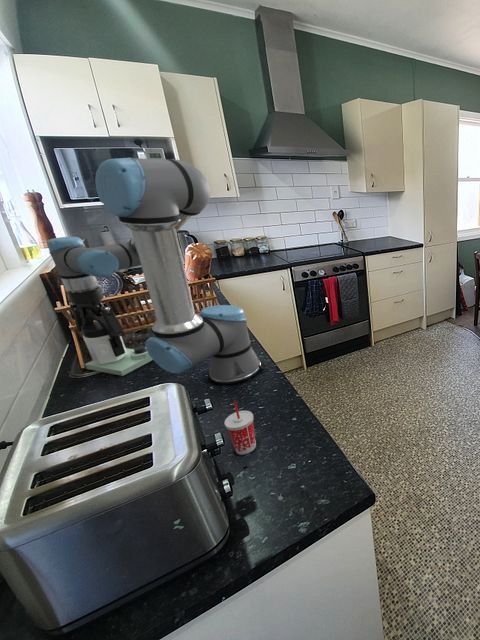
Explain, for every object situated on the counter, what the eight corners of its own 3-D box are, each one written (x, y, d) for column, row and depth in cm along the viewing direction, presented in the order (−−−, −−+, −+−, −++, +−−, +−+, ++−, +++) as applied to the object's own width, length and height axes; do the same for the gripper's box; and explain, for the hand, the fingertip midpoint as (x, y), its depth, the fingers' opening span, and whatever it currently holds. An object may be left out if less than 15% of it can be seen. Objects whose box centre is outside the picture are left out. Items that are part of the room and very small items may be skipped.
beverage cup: (250, 435, 90) (240, 390, 84) (264, 445, 87) (254, 399, 81) (227, 449, 85) (214, 403, 79) (241, 460, 82) (229, 414, 76)
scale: (158, 357, 122) (155, 348, 121) (122, 376, 111) (119, 366, 110) (124, 351, 125) (121, 342, 124) (86, 369, 114) (82, 360, 113)
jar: (90, 366, 111) (76, 333, 106) (95, 355, 117) (81, 323, 112) (126, 359, 115) (114, 327, 110) (129, 349, 121) (117, 318, 116)
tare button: (148, 350, 120) (146, 346, 119) (140, 355, 118) (138, 350, 117) (141, 349, 121) (139, 345, 120) (133, 353, 118) (131, 349, 117)
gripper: (123, 288, 107) (145, 351, 117) (70, 281, 111) (95, 343, 121) (97, 296, 101) (123, 363, 110) (42, 288, 105) (71, 353, 114)
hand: (109, 352), depth 115 cm, fingers closed on jar, 9 cm apart
